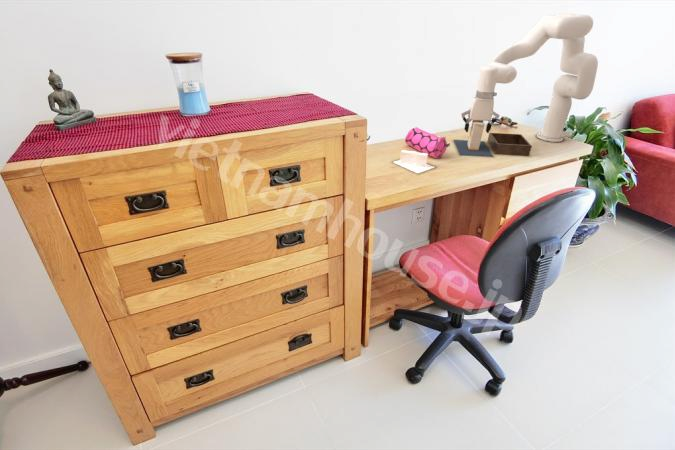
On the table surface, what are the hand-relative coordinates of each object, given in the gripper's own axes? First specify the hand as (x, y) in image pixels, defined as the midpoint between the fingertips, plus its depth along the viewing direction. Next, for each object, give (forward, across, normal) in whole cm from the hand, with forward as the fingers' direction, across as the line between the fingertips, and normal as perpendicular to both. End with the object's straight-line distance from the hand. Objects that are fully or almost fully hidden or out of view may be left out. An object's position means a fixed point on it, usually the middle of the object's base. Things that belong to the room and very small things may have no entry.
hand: (476, 131), depth 178 cm
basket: (+8, -16, -2) cm, 19 cm away
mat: (+8, 0, 0) cm, 8 cm away
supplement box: (+8, 0, 0) cm, 8 cm away
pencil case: (+8, +24, +8) cm, 27 cm away
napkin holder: (+8, +30, +25) cm, 40 cm away
